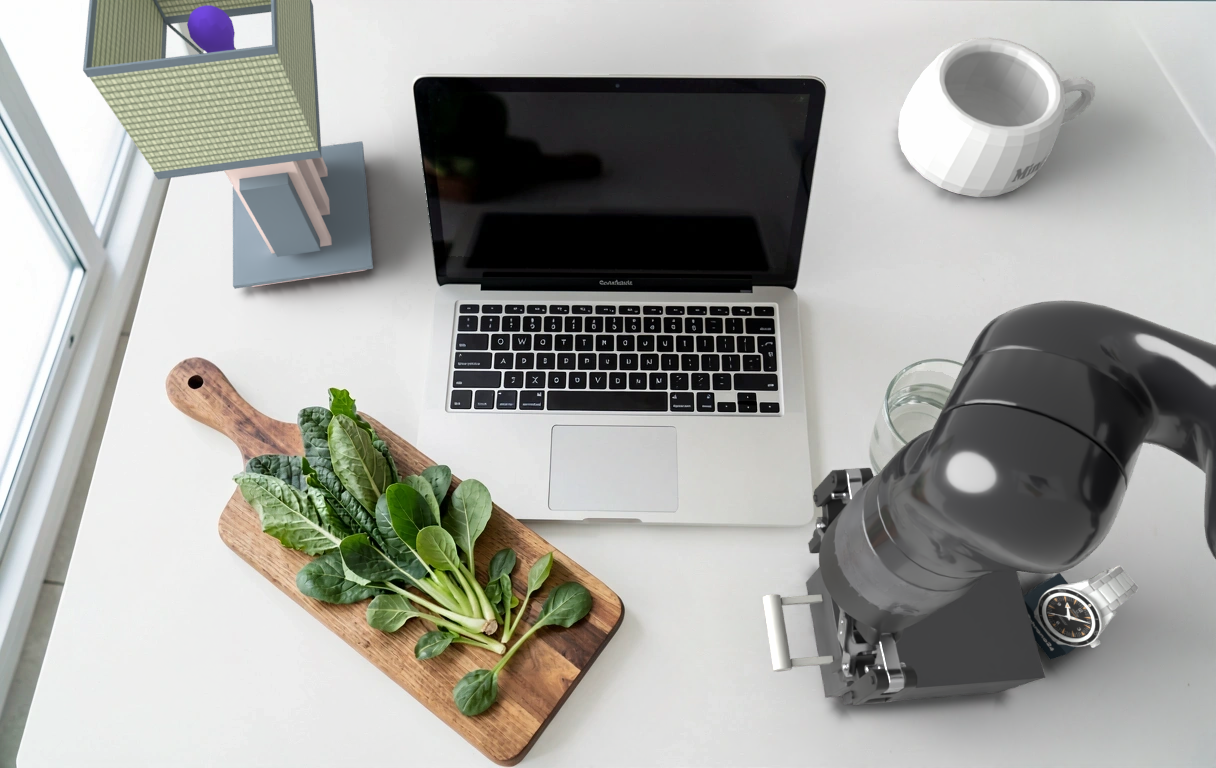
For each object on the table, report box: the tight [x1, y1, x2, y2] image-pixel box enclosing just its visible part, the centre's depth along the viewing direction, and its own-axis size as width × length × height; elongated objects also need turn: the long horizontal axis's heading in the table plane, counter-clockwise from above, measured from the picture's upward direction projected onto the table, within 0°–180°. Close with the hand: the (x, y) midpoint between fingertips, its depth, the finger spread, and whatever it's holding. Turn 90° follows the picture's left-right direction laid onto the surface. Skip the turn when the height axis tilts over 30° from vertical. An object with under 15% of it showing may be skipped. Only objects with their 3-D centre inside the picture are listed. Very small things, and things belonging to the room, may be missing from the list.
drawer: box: [762, 566, 863, 699], centre depth 76 cm, size 18×10×7 cm, turn 94°
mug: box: [897, 37, 1096, 198], centre depth 100 cm, size 21×17×10 cm
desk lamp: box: [82, 0, 374, 290], centre depth 84 cm, size 18×14×33 cm
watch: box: [1023, 565, 1139, 661], centre depth 76 cm, size 6×8×11 cm
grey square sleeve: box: [841, 571, 1046, 706], centre depth 76 cm, size 14×11×9 cm
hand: (833, 606), depth 65 cm, fingers open, 8 cm apart
